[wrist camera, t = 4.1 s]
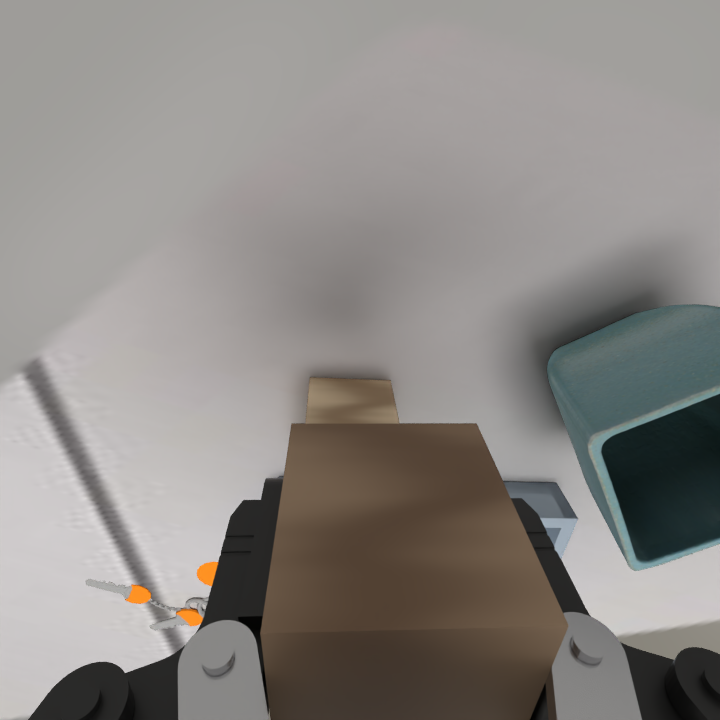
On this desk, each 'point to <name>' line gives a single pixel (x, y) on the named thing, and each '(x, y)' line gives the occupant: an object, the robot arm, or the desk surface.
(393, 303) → the desk surface
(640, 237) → the desk surface
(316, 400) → the oak block
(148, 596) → the key chain
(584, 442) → the flower pot
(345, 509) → the walnut block
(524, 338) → the desk surface
